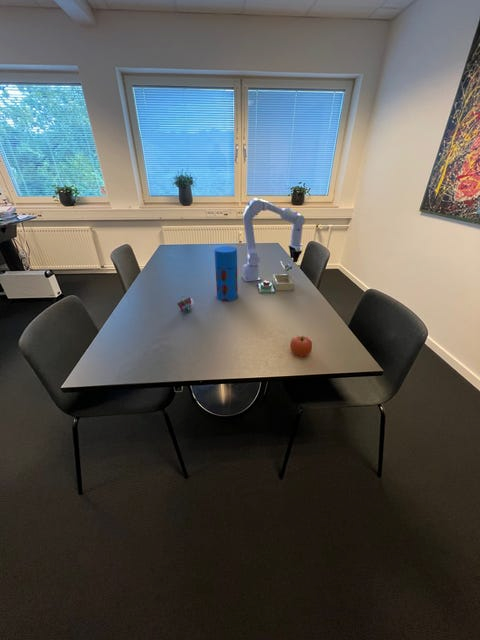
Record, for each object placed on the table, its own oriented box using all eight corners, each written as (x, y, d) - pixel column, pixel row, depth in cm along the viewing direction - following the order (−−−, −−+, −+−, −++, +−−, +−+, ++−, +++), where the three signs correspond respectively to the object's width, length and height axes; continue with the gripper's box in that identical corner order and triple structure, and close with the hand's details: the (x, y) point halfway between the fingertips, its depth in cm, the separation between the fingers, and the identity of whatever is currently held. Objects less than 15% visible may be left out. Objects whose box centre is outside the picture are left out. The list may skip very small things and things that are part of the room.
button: (263, 285, 141) (263, 282, 140) (263, 283, 143) (263, 280, 142) (269, 285, 141) (269, 282, 140) (268, 283, 143) (268, 280, 142)
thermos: (235, 302, 130) (234, 253, 117) (214, 300, 132) (211, 251, 119) (239, 292, 139) (239, 246, 126) (220, 291, 141) (217, 245, 128)
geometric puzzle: (175, 310, 118) (184, 297, 115) (174, 304, 123) (182, 290, 121) (188, 317, 121) (197, 303, 119) (187, 310, 127) (195, 297, 125)
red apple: (313, 359, 92) (316, 342, 88) (291, 359, 92) (293, 343, 88) (308, 346, 98) (310, 330, 95) (287, 346, 98) (289, 330, 94)
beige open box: (276, 290, 141) (276, 283, 139) (272, 281, 153) (273, 274, 150) (293, 290, 142) (293, 283, 140) (288, 280, 153) (288, 274, 151)
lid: (284, 269, 135) (290, 265, 134) (279, 261, 146) (285, 257, 145) (293, 283, 139) (299, 279, 138) (288, 274, 151) (293, 270, 150)
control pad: (260, 293, 138) (260, 288, 137) (257, 285, 148) (258, 280, 146) (274, 292, 139) (275, 287, 137) (271, 284, 148) (272, 279, 147)
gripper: (306, 239, 140) (303, 263, 147) (300, 233, 152) (297, 256, 160) (293, 240, 140) (291, 264, 147) (288, 233, 152) (286, 256, 159)
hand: (293, 260), depth 153 cm, fingers open, 7 cm apart
